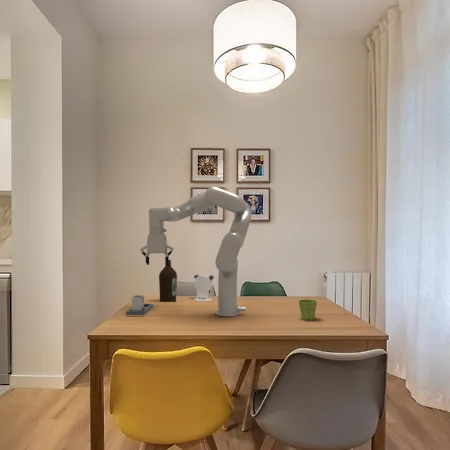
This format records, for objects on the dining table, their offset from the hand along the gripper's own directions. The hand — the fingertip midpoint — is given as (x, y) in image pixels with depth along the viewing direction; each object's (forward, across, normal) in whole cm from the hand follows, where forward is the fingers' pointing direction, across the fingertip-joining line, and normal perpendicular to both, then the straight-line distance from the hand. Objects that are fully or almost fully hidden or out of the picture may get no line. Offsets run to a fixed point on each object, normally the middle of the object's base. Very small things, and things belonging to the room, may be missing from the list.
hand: (157, 264), depth 213 cm
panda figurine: (+25, -21, -38) cm, 50 cm away
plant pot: (+27, -75, +15) cm, 81 cm away
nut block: (+23, +9, +8) cm, 26 cm away
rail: (+24, +9, +2) cm, 26 cm away
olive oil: (+25, -1, -28) cm, 37 cm away
